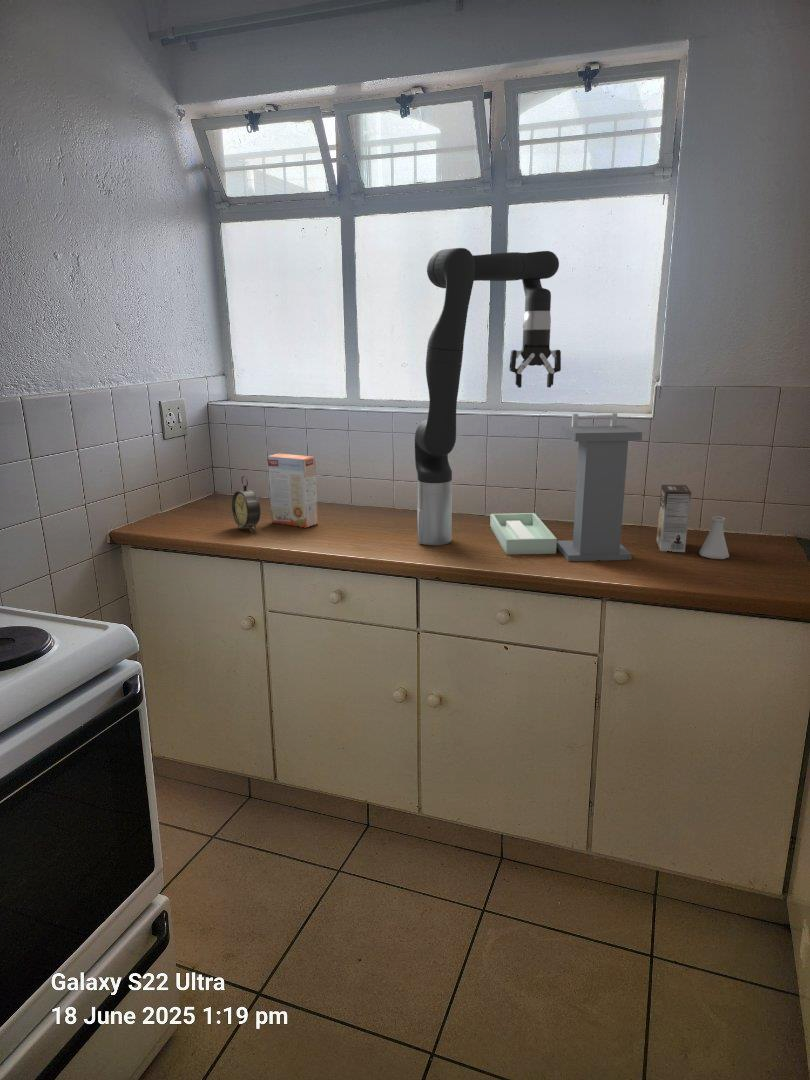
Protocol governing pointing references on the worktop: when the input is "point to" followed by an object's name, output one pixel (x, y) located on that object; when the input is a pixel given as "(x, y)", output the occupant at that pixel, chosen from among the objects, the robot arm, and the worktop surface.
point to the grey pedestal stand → (598, 489)
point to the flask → (715, 541)
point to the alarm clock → (246, 508)
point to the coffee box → (673, 517)
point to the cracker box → (293, 489)
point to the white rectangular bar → (518, 529)
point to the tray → (511, 545)
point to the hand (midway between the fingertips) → (534, 387)
